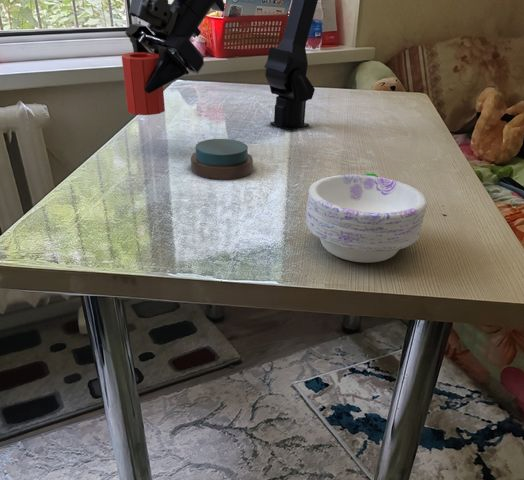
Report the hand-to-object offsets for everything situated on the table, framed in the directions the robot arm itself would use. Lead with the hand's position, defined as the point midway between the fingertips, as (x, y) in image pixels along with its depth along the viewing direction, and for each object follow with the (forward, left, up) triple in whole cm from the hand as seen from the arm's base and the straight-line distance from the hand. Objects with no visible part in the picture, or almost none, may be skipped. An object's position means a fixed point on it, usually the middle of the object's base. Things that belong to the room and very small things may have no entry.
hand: (136, 87), depth 97 cm
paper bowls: (-1, +52, -12) cm, 53 cm away
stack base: (-6, +16, -11) cm, 21 cm away
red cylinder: (-1, 0, -4) cm, 4 cm away
